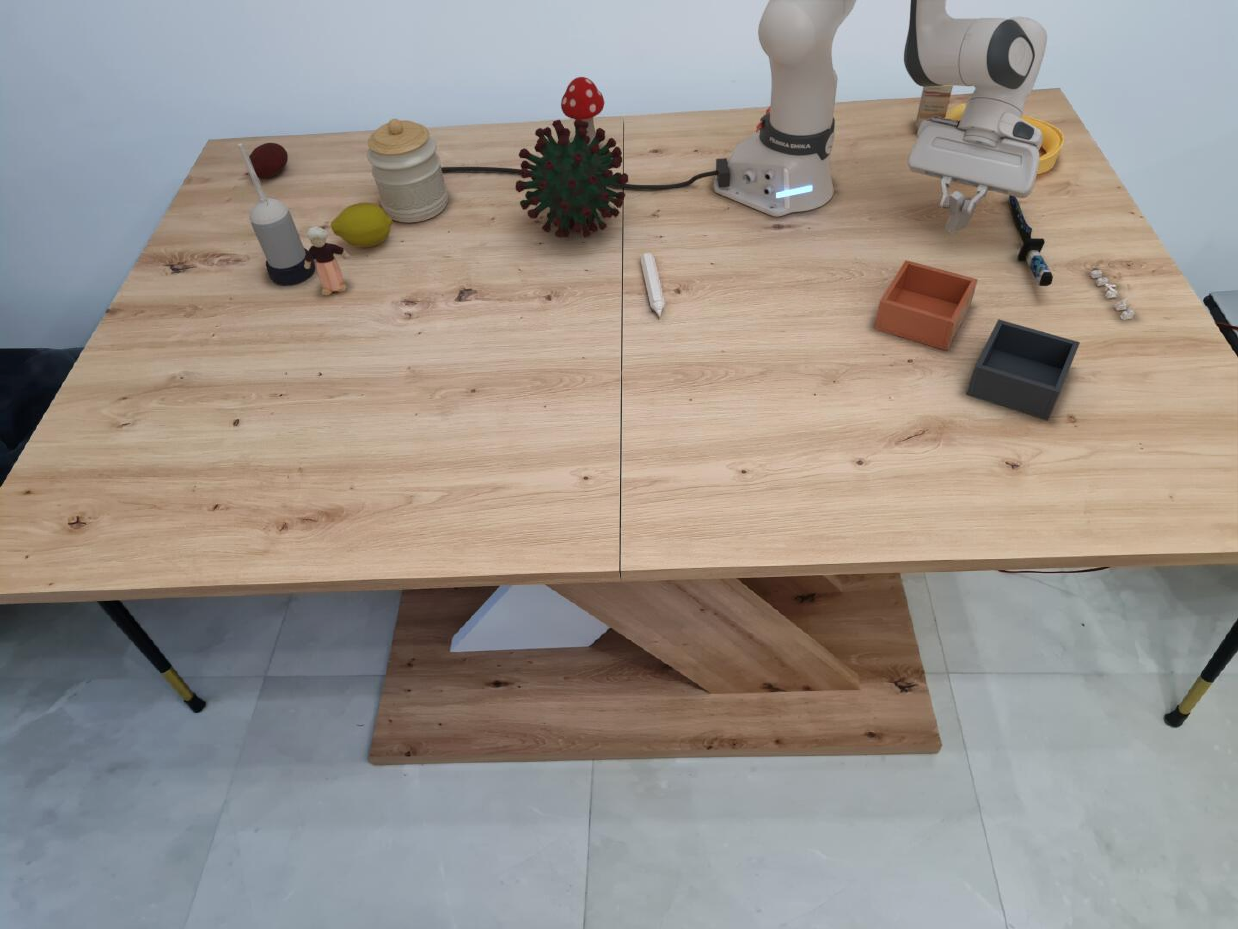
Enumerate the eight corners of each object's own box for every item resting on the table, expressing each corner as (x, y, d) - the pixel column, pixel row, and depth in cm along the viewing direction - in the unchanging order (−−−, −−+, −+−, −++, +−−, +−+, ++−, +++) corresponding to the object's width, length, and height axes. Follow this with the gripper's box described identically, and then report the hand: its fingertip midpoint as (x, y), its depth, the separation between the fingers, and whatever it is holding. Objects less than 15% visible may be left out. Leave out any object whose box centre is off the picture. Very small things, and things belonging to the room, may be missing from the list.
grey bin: (966, 394, 132) (974, 366, 128) (989, 347, 138) (998, 318, 134) (1048, 420, 128) (1059, 392, 124) (1068, 370, 134) (1080, 342, 130)
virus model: (531, 269, 159) (514, 167, 144) (516, 208, 173) (499, 108, 158) (642, 249, 161) (636, 146, 146) (619, 190, 174) (611, 89, 159)
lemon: (400, 228, 171) (389, 191, 165) (395, 253, 166) (383, 215, 160) (343, 233, 171) (330, 196, 165) (337, 258, 166) (323, 221, 160)
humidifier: (300, 252, 168) (250, 126, 149) (323, 270, 164) (275, 142, 145) (261, 273, 164) (205, 146, 146) (285, 291, 160) (230, 164, 141)
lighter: (960, 220, 155) (979, 179, 149) (967, 225, 154) (987, 185, 148) (932, 232, 152) (950, 191, 146) (940, 237, 151) (958, 197, 145)
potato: (299, 167, 188) (290, 140, 184) (268, 188, 184) (257, 161, 179) (275, 159, 191) (264, 132, 187) (243, 179, 187) (231, 153, 182)
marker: (659, 324, 148) (646, 266, 159) (670, 318, 148) (656, 259, 158) (651, 315, 147) (638, 256, 157) (662, 308, 146) (648, 250, 156)
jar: (370, 218, 174) (343, 132, 161) (405, 182, 182) (382, 98, 168) (428, 229, 170) (405, 142, 157) (461, 192, 178) (442, 106, 164)
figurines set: (1088, 275, 148) (1093, 261, 146) (1105, 273, 148) (1110, 259, 146) (1123, 322, 140) (1129, 308, 138) (1141, 320, 140) (1147, 305, 138)
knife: (1048, 300, 143) (1056, 275, 140) (1028, 299, 143) (1036, 274, 140) (1020, 209, 165) (1027, 186, 161) (1003, 208, 165) (1009, 185, 162)
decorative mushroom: (607, 162, 181) (601, 90, 170) (565, 165, 182) (556, 93, 170) (608, 137, 188) (603, 66, 177) (567, 139, 188) (559, 68, 177)
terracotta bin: (874, 328, 143) (879, 300, 139) (899, 287, 149) (905, 259, 145) (946, 350, 139) (954, 322, 134) (970, 307, 145) (978, 279, 141)
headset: (1068, 181, 166) (1082, 135, 159) (949, 188, 168) (958, 142, 161) (1042, 133, 177) (1055, 87, 171) (932, 140, 180) (939, 95, 173)
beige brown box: (916, 133, 180) (925, 84, 173) (915, 122, 183) (924, 73, 176) (943, 134, 180) (953, 85, 172) (941, 123, 182) (952, 74, 175)
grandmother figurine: (319, 301, 158) (294, 240, 148) (313, 290, 160) (289, 229, 150) (361, 286, 160) (339, 225, 150) (355, 275, 162) (333, 214, 152)
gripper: (922, 106, 147) (891, 189, 149) (1052, 134, 140) (1017, 221, 142) (926, 119, 153) (896, 199, 155) (1050, 146, 145) (1017, 230, 148)
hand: (955, 210), depth 148 cm, fingers closed on lighter, 2 cm apart
